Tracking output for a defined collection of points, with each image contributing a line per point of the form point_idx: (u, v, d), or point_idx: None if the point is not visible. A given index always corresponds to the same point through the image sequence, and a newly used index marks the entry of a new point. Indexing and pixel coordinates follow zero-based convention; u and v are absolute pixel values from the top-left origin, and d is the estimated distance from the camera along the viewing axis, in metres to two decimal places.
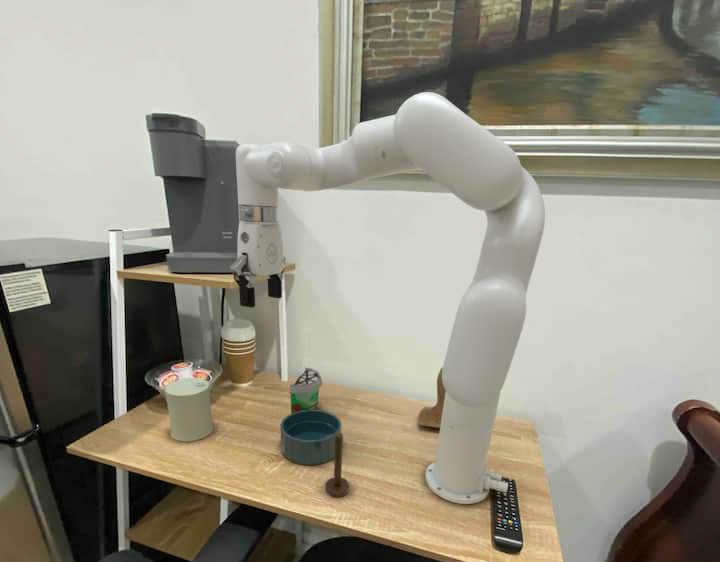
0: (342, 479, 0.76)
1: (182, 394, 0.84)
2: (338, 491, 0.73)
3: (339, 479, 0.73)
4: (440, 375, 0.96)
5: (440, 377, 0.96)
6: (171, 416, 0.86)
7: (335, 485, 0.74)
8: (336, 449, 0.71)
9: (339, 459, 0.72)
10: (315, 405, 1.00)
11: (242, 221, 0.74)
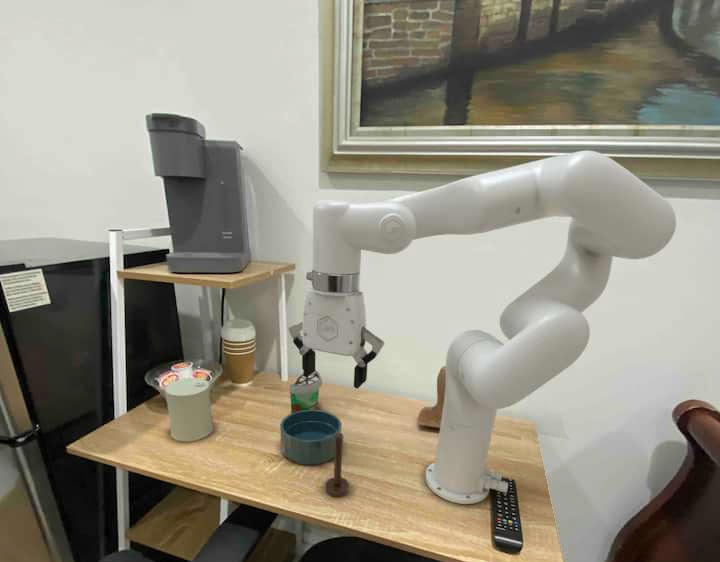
0: (342, 479, 0.76)
1: (182, 394, 0.84)
2: (338, 491, 0.73)
3: (339, 479, 0.73)
4: (440, 375, 0.96)
5: (440, 377, 0.96)
6: (171, 416, 0.86)
7: (335, 485, 0.74)
8: (336, 449, 0.71)
9: (339, 459, 0.72)
10: (315, 405, 1.00)
11: None
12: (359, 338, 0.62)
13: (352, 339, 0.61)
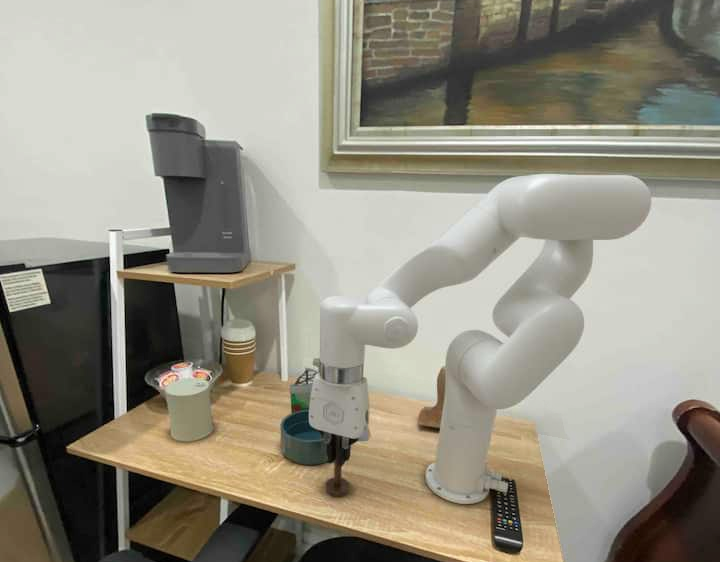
0: (342, 479, 0.76)
1: (182, 394, 0.84)
2: (338, 491, 0.73)
3: (339, 479, 0.73)
4: (440, 375, 0.96)
5: (440, 377, 0.96)
6: (171, 416, 0.86)
7: (335, 485, 0.74)
8: (336, 449, 0.71)
9: None
10: None
11: None
12: (363, 422, 0.66)
13: (357, 424, 0.65)
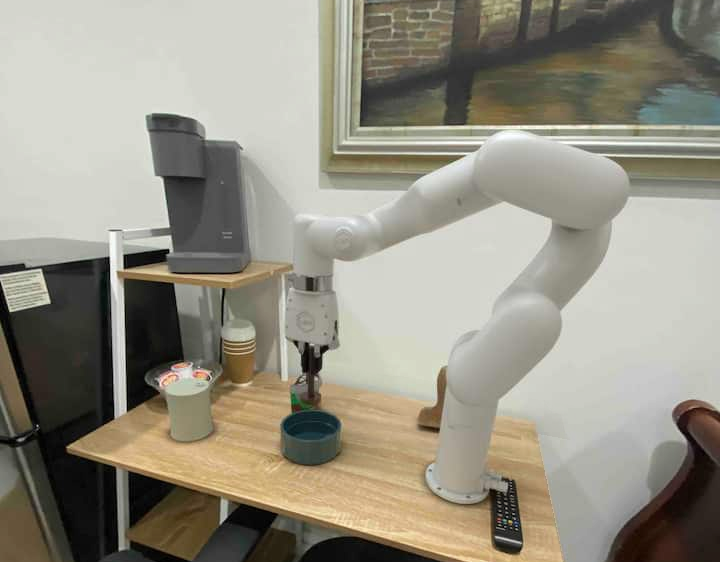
0: (316, 392, 0.84)
1: (182, 394, 0.84)
2: (311, 399, 0.80)
3: (312, 389, 0.81)
4: (440, 375, 0.96)
5: (440, 377, 0.96)
6: (171, 416, 0.86)
7: (309, 395, 0.81)
8: (309, 360, 0.79)
9: None
10: (315, 405, 1.00)
11: None
12: (332, 330, 0.74)
13: (326, 331, 0.73)
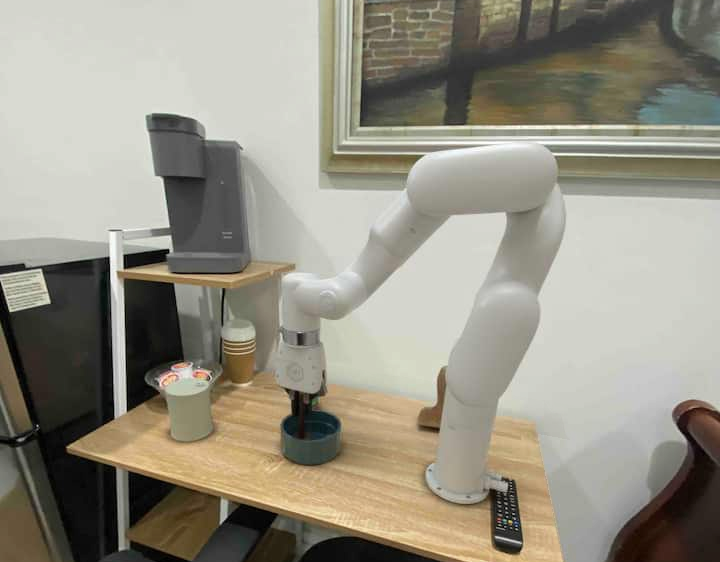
0: (306, 433, 0.88)
1: (182, 394, 0.84)
2: None
3: (303, 432, 0.86)
4: (440, 375, 0.96)
5: (440, 377, 0.96)
6: (171, 416, 0.86)
7: (300, 437, 0.86)
8: (299, 405, 0.83)
9: None
10: (315, 405, 1.00)
11: None
12: (320, 380, 0.78)
13: (314, 381, 0.78)
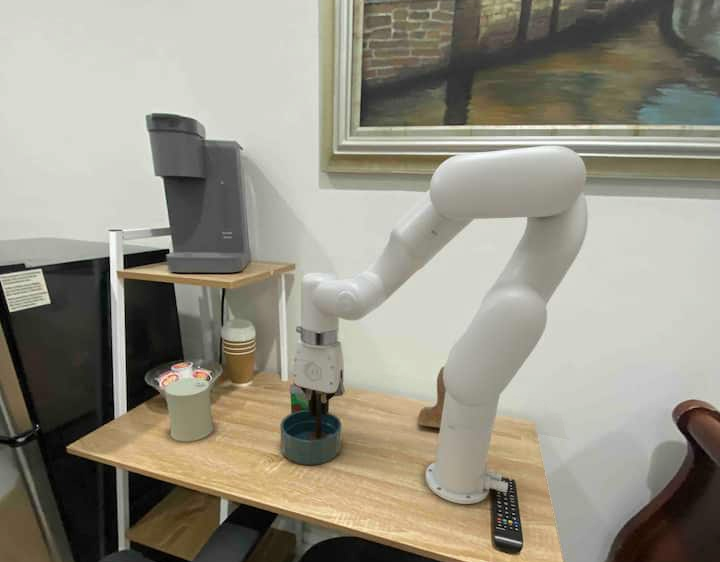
0: (322, 432, 0.89)
1: (182, 394, 0.84)
2: None
3: (319, 431, 0.86)
4: (440, 375, 0.96)
5: (440, 377, 0.96)
6: (171, 416, 0.86)
7: (316, 436, 0.87)
8: (316, 404, 0.84)
9: None
10: None
11: None
12: (338, 379, 0.79)
13: (332, 380, 0.78)
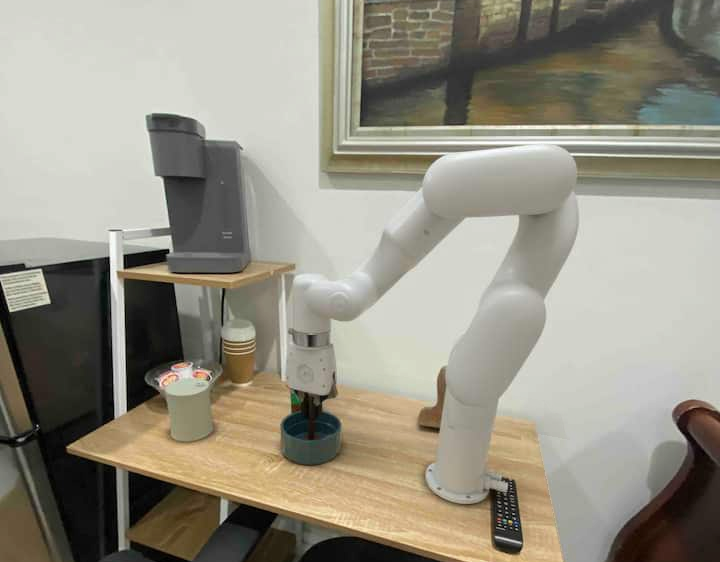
0: (316, 435, 0.88)
1: (182, 394, 0.84)
2: None
3: (312, 434, 0.85)
4: (440, 375, 0.96)
5: (440, 377, 0.96)
6: (171, 416, 0.86)
7: (309, 439, 0.86)
8: (309, 407, 0.83)
9: None
10: None
11: None
12: (330, 381, 0.78)
13: (324, 383, 0.77)
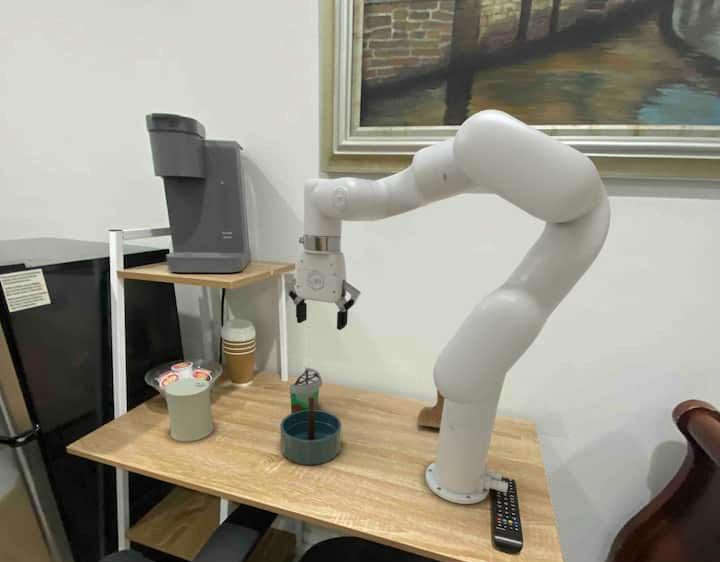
0: (316, 437, 0.88)
1: (182, 394, 0.84)
2: None
3: (312, 436, 0.85)
4: None
5: None
6: (171, 416, 0.86)
7: None
8: (309, 409, 0.83)
9: (312, 417, 0.84)
10: (315, 405, 1.00)
11: None
12: (340, 288, 0.80)
13: (335, 288, 0.79)
